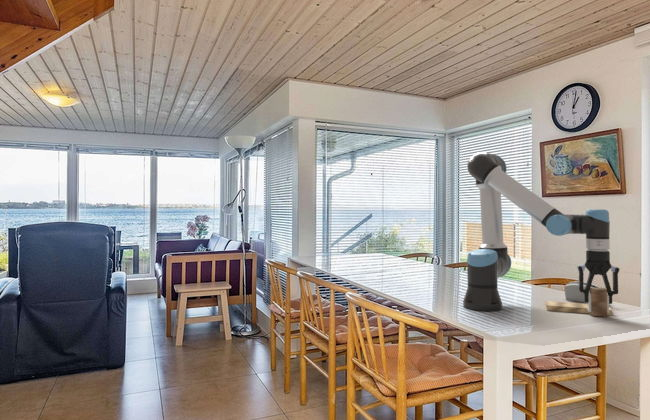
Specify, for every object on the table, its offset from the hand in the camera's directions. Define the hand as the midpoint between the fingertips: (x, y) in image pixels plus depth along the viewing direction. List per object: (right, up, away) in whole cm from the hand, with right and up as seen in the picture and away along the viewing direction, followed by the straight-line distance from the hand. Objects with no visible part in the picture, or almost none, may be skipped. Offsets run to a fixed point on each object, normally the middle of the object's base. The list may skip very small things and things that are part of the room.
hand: (598, 311), depth 162 cm
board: (-3, -2, +9) cm, 9 cm away
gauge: (+2, -1, +5) cm, 6 cm away
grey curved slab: (+9, -2, +23) cm, 25 cm away
